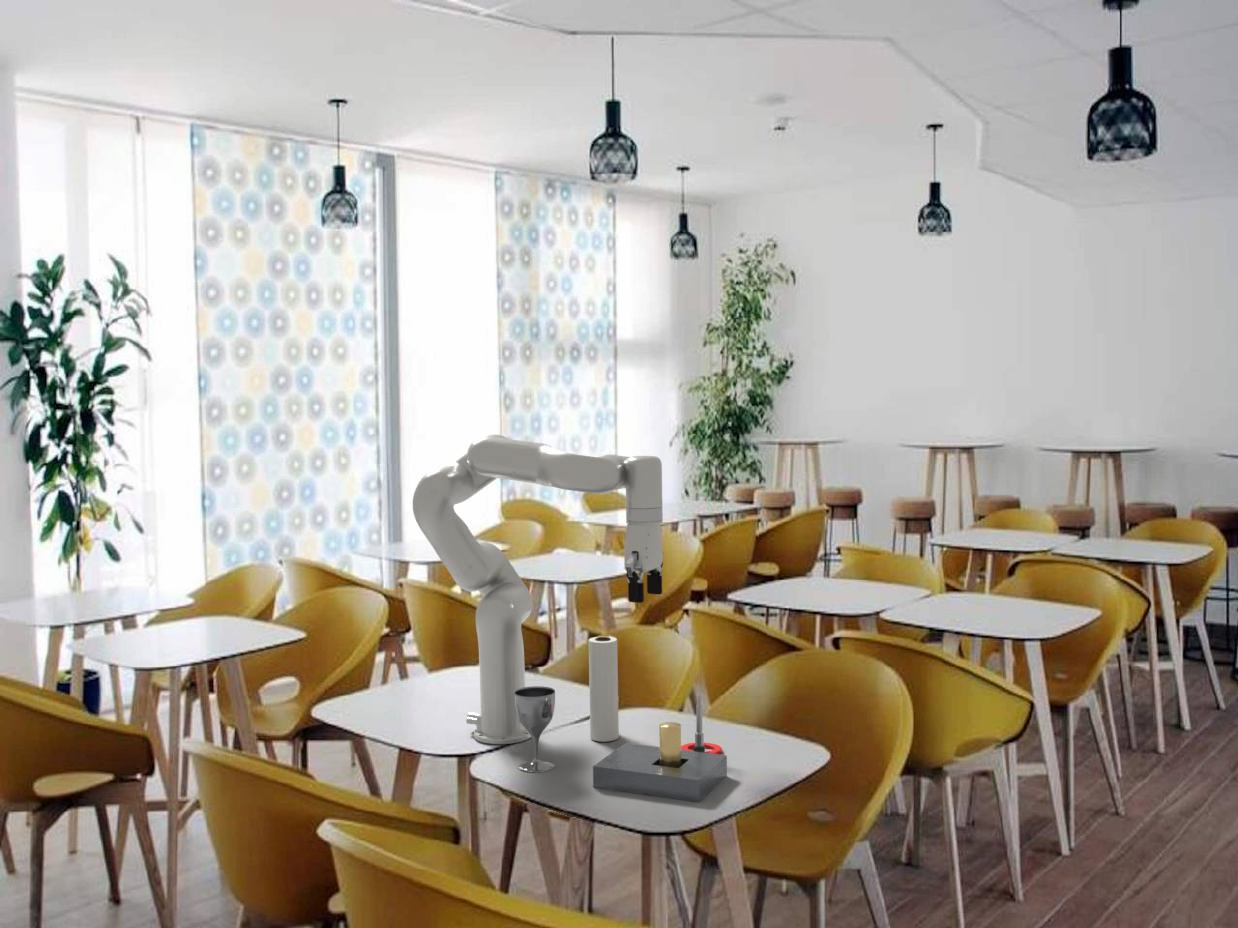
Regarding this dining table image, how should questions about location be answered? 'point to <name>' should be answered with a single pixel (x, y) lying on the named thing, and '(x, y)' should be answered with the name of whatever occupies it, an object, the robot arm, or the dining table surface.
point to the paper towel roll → (603, 688)
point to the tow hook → (701, 735)
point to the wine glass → (535, 719)
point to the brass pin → (670, 744)
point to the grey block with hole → (660, 773)
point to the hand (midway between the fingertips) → (645, 597)
